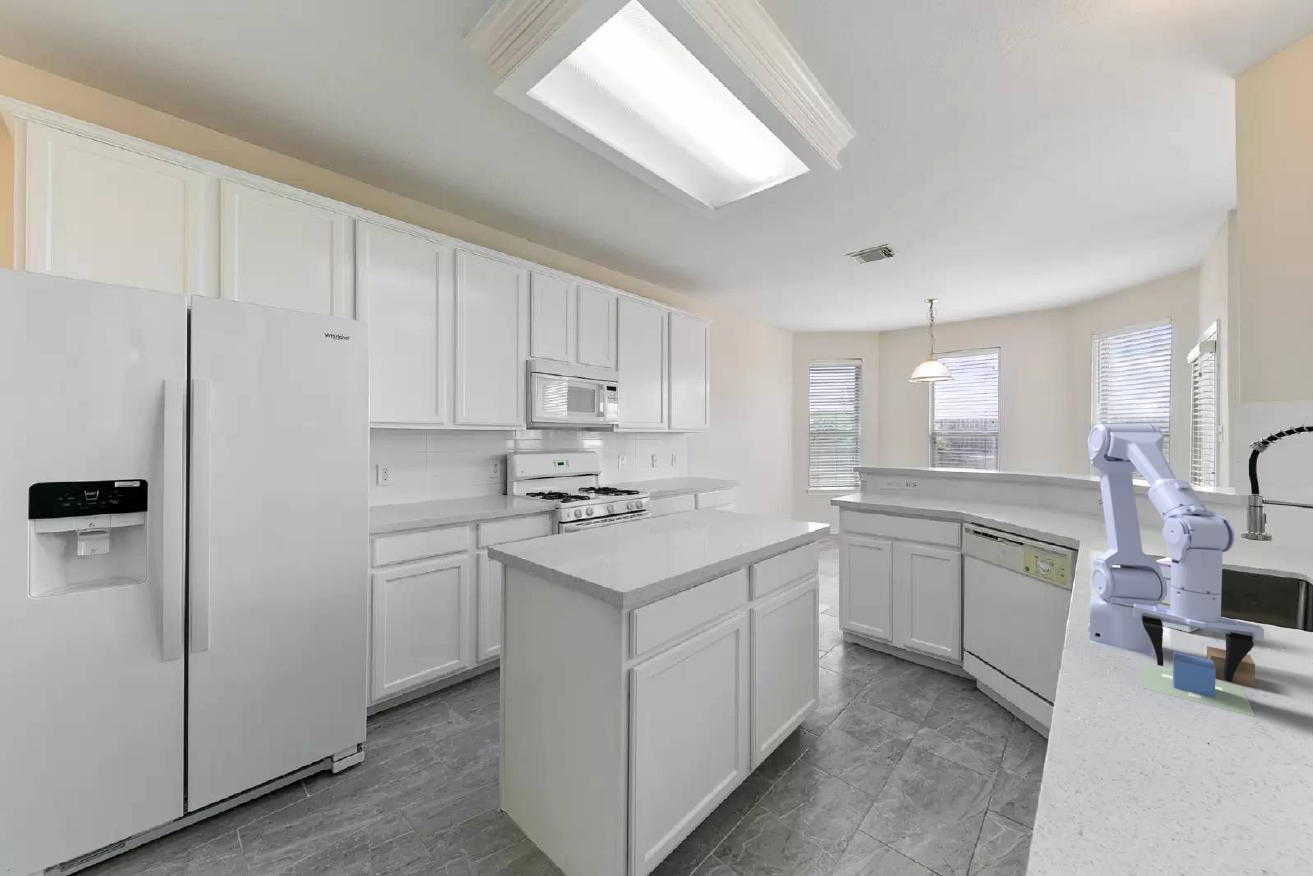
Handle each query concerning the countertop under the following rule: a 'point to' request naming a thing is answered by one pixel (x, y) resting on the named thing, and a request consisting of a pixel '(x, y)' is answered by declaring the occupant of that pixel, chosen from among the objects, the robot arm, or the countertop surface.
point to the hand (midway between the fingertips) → (1193, 671)
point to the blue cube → (1194, 674)
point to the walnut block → (1242, 673)
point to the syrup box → (1166, 572)
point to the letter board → (1224, 693)
